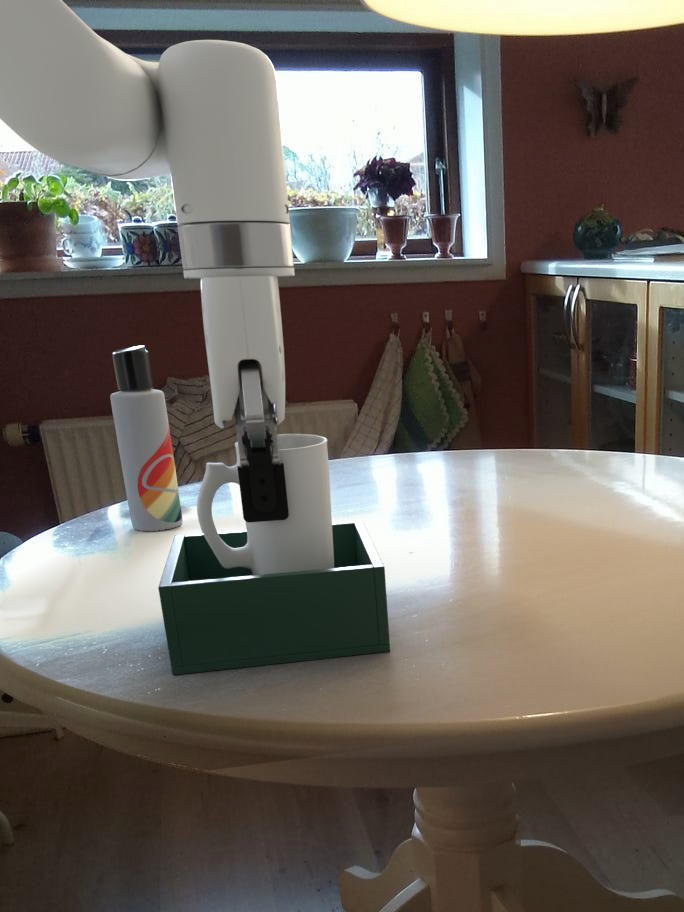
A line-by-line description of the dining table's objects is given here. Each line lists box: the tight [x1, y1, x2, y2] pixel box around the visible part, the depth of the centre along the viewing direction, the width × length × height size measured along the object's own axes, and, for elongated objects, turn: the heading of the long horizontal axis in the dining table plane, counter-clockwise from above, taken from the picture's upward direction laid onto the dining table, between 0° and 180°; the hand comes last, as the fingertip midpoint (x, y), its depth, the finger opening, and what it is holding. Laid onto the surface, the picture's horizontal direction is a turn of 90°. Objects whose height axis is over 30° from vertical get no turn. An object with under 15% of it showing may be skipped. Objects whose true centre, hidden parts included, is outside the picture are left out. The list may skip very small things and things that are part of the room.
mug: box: [196, 433, 334, 575], centre depth 70 cm, size 10×7×12 cm, turn 113°
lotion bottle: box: [109, 345, 183, 532], centre depth 104 cm, size 6×6×20 cm
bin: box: [157, 520, 391, 676], centre depth 73 cm, size 16×15×7 cm
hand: (265, 507), depth 70 cm, fingers closed on mug, 6 cm apart
